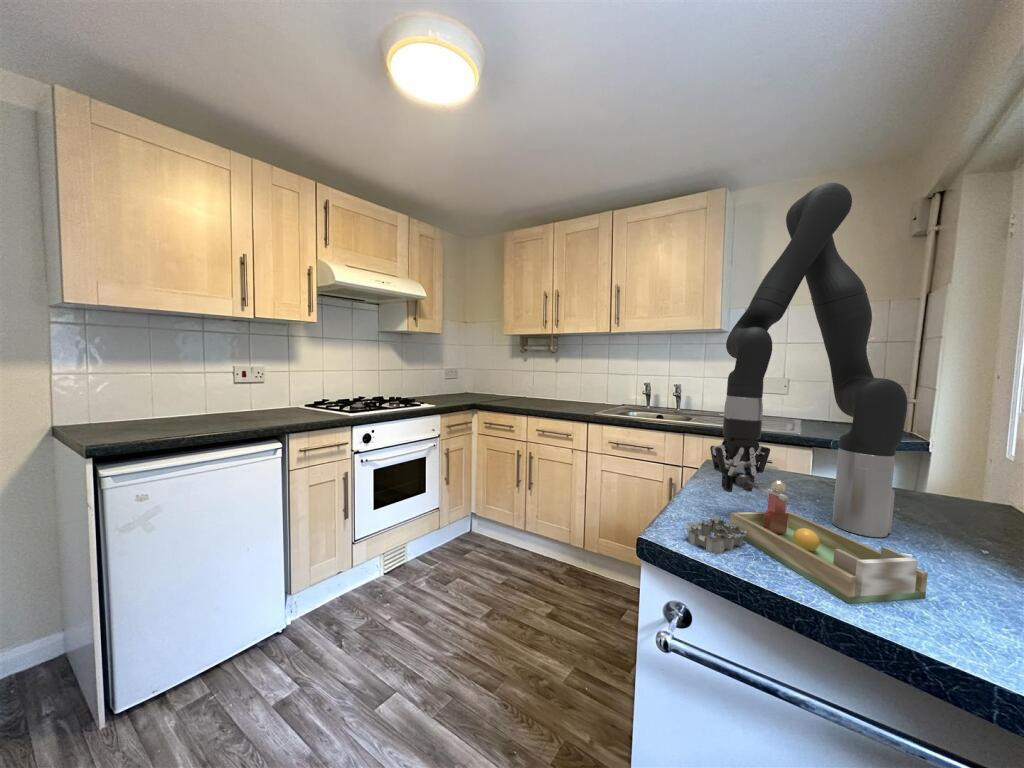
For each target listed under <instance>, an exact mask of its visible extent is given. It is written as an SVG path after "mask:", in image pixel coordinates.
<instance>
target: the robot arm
mask: <svg viewBox="0 0 1024 768" xmlns="http://www.w3.org/2000/svg"><path fill="white" fill-rule="evenodd" d="M852 204H853V198H852V194H851V192H850V190H849V188H848V187H846V186H845V185H843V184H842V183H838V182H827V183H823V184H820V185H818V186H817V187H815V188H813V189H811V190H810V191H808V192H807V193H806V194H805V195H803V196H802V197H800V198H799V199H798V200H796V201H795V202H794V203H793V204H792V205H791V206H790V207H789V209H788V211H787V213H786V217H785V224H786V228H787V229H786V230H787V232H788V234H789V236H790V240H789V243H788V245H787V246H786V248H785V249H784V251H783V252H782V253H781V255H780V256H779V257H778V258H777V260H776V261H775V263H773V265H772V266H771V268H770V269H769V270H768V271H767V273H766V275H765V276H764V277H763V279H762V280H761V282H760V284H759V286H758V287H757V289H756V291H755V292H754V295H753V297H752V299H751V301H750V303H749V305H748V308H747V309H746V310H745V312H743V314H742V315H741V316H740V318H739V319H738V320H737V322H736V323H735V324H734V326H733V328H732V329H731V330H730V333H729V334H728V336H727V339H726V344H725V347H726V351H727V353H728V354H729V356H731V357H732V358H733V359H735V365H734V369H733V370H732V371H731V372H730V373H729V374H728V377H727V384H726V385H727V386H726V396H725V397H726V398H725V402H724V407H723V409H724V410H723V425H722V435H723V441H722V443H721V444H718V445H710V448H709V449H710V453H711V454H710V455H711V459H712V464H713V469H714V471H716V472H719V473H721V475H722V476H721V487H722V489H723V491H726V492H728V493H732V492H733V489H734V488H733V486H734V484H733V476H732V475H733V472H734V470H736V468H737V467H738V465H739V463H740V464H741V465H742V467H743V472H744V474H746V475H749V476H751V477H753V479H754V480H755V477H756V475H757V474H759V473H760V474H763V473H764V470H765V468H766V464H767V461H768V459H769V457H770V452H771V448H770V447H767V446H762V445H760V442H759V440H760V439H762V438H761V437H762V425H763V412H764V405H763V403H764V402H763V395H764V394H763V393H764V379H765V375H766V373H767V371H768V367H769V365H770V361H771V356H772V353H773V339H772V337H771V334H770V333H769V329H770V328H771V327H772V326H773V325H774V324H776V323H778V322H779V321H780V320H781V319H782V318H783V316H784V314H785V313H786V311H787V309H788V307H789V305H790V304H791V302H792V300H793V298H794V296H795V294H796V292H797V291H798V289H799V287H800V285H801V283H802V282H803V280H804V278H805V280H806V284H807V287H808V290H809V294H810V298H811V302H812V306H813V310H814V314H815V318H816V321H817V324H818V326H819V330H820V334H821V337H822V340H823V341H822V342H823V344H824V348H825V351H826V355H827V357H828V361H829V367H830V373H831V381H832V387H833V394H834V399H835V403H836V405H837V407H838V409H839V410H840V411H841V412H842V413H844V414H845V415H847V416H849V417H852V424H851V427H850V430H849V431H848V432H847V433H845V434H842V435H841V436H840V437H839V438H838V439H839V440H838V451H837V463H836V474H835V475H836V476H835V486H834V497H833V508H832V519H831V523H832V525H834V526H836V527H837V528H838V529H841V530H844V531H846V532H848V533H849V532H850V533H852V534H856V535H860V536H863V537H864V536H865V537H869V538H870V537H871V538H886V537H887V536H888V533H891V534H892V526H893V516H894V505H895V494H896V491H895V489H893V485H894V484H893V480H894V472H895V461H896V451H897V447H898V446H899V445H900V443H901V442H902V440H903V436H904V432H905V431H904V430H905V425H906V418H907V412H908V397H907V393H906V391H905V389H904V387H903V386H902V385H901V384H899V383H898V382H897V381H895V380H893V379H889V378H884V377H883V378H882V377H880V378H879V377H875V376H874V374H873V371H872V369H871V365H870V362H869V359H868V353H867V352H868V341H869V337H870V333H871V329H872V328H871V327H872V322H873V312H872V306H871V303H870V300H869V296H868V293H867V289H866V286H865V284H864V282H863V280H862V279H861V278H860V276H858V274H857V273H856V272H855V271H854V270H853V269H852V268H851V267H850V266H849V265H848V264H847V263H846V262H845V261H844V259H842V256H841V255H840V254H839V252H838V250H837V247H836V244H835V239H834V235H833V234H835V232H836V231H837V230H838V228H839V227H840V226H841V224H842V223H843V222H844V221H845V219H846V218H847V216H848V215H849V213H850V211H851V209H852V206H853V205H852ZM753 489H754V488H751V489H750V490H745V489H743V488H742V490H744V491H746V492H750V493H751V492H752V491H753Z"/></svg>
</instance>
